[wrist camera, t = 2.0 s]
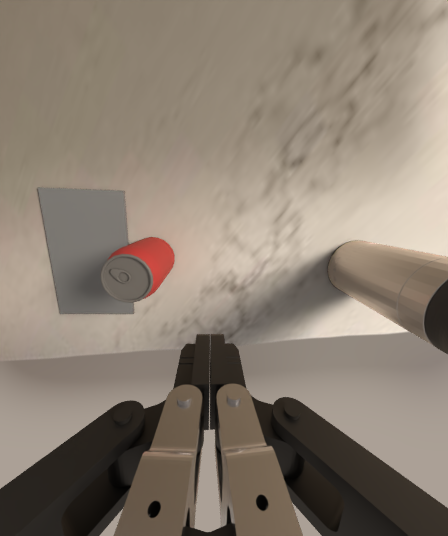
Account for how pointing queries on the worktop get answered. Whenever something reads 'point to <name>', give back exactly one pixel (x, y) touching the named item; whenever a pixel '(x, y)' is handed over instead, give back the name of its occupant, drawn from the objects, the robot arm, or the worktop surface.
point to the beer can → (137, 269)
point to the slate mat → (84, 245)
